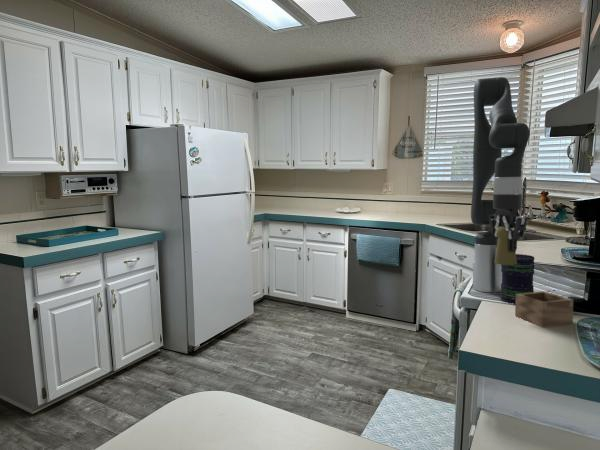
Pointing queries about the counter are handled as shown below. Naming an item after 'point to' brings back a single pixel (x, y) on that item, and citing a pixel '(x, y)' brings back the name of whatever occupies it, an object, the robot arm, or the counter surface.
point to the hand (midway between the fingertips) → (506, 250)
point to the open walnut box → (544, 309)
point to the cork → (504, 249)
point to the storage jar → (517, 278)
